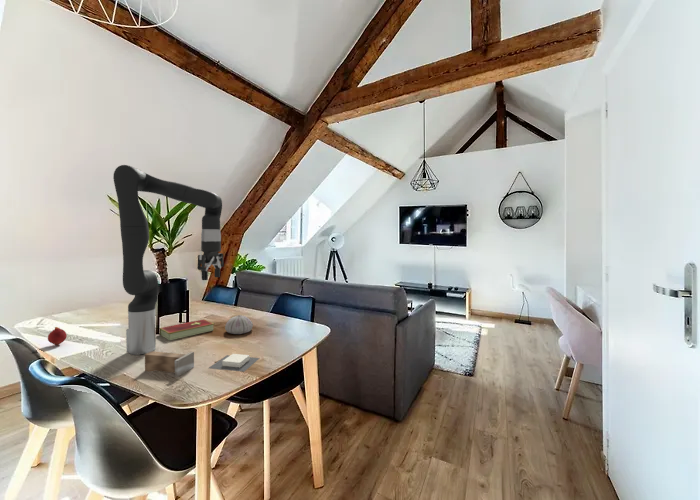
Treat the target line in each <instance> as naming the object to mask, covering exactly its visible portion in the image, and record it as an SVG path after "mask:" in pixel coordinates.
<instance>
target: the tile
mask: <svg viewBox="0 0 700 500" xmlns="http://www.w3.org/2000/svg"><path fill="white" fill-rule="evenodd" d="M250 357H251V356H250V355H249V354H239V353H231V355H230V356H229V357H227V358H226V359H224V360H223V361H222V366H229V367H241V366H242V365H244V364H245V363H246V362H247V361H249V360H250Z"/></svg>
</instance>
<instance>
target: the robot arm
mask: <svg viewBox="0 0 700 500" xmlns="http://www.w3.org/2000/svg"><path fill="white" fill-rule="evenodd" d="M112 179H113V184H114V189H115V192H116V196H117V197H116V199H117V202H118V203H117V205H118V214H119V223H120V225H119V226H120V227H119V228H120V236H121V249H122V287H123V289H124V291H125V292H126V293H127V294H128V295H130V296H134V297H133V299H132V301H130V302H129V303H128V305H127V314H128V315H127V319H128V327H127V328H126V331H125V332H126V333H125V337H126V339H125V340H126V341H125V344H126V353H127V354H129V355H133V356H139V355H145V354H147V353H149V352H151V351H156V344H157V343H156V341H157V337H156V328H157V327H156V305H157V302H158V296H159V295H158V294H159V293H158V292H159V291H158V290H159V280H158V276H157V275H156V274H155V272H154V271H152V270H149V269H148V270H145V269H144V263H143V260H144V255H145V252H146V249H147V247H148V244H149V240H150V231H149V223H148V219H147V216H146V215H145V212H144V210H143V208H142V206H141V203H140V200H139V192H142V193H151V194H156V195H160V196H164V197H166V198H169V199H172V200H175V201H179V202H181V203H186V204H190V205H195V206H197V207H201V208H203V209H204V215H203V216H202V218H201V233H200V235H201V236H200V240H201V241H200V244H201V245H200V249H201V250H200V251H201V252H203V254H197V267H196V268H197V270H198V271H200V272H201V280H202V281H208V280H209V277H208V276H209V275H208V274H209V273H208V272H209V271H208V270H209V267H211V266H213V267H214V277H215V278H220V277H221V269H222V268H223V267H224V263H225V262H224V253H222V252H221V251H222V233H221V217H222V211H223V210H222V209H223V200H222V198H221V196H220V195H219V194H217V193H215V192H212V191H209V190H204V189H200V188H196V187H193V186H191V185H190V186H189V185H187V184H184V183H180V182H176V181H170V180H164V179H160V178H158V177H155V176H152V175H151V174H148V173H146V172H144V171H142V170H141V169H138V168H136V167H133V166H131V165H127V164H121V165H119V166H116V167H115V170H114V171H113V178H112Z"/></svg>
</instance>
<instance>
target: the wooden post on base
mask: <svg viewBox="0 0 700 500" xmlns="http://www.w3.org/2000/svg"><path fill="white" fill-rule="evenodd" d="M193 368H195V351H190V352H187V353H186V354H185V353H176V352H175V353H173V352H164V351H156V350H154V351H151V352H149V353H145V354H144V371H145V372H151V371H153V372H155V371H157V372H165V373H174V377H175V378H176V377H177V378H179V377H180V376H181V375H183V374H186V372H188V371H190V370H191V369H193Z"/></svg>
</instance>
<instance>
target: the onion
mask: <svg viewBox="0 0 700 500" xmlns="http://www.w3.org/2000/svg"><path fill="white" fill-rule="evenodd" d="M67 336H68V334H67V332H66V330H64V329H62V328H60V327H58V326H55V327H54V329H53V330H51V331H50V333H48V335H47V341H48V342H49V343H50V344H52V345H54V346H59V345H61V344H62V343H63V342H65V341H66V339H67Z"/></svg>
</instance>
